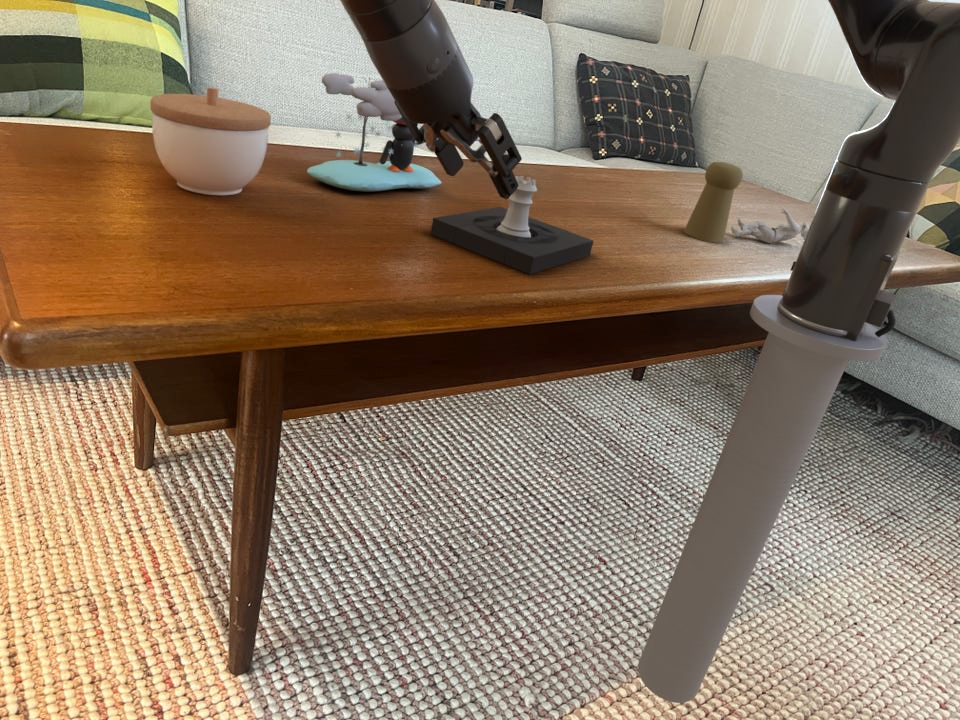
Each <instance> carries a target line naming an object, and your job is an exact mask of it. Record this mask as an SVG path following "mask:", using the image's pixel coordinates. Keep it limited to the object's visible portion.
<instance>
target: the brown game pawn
mask: <svg viewBox="0 0 960 720" xmlns="http://www.w3.org/2000/svg"><path fill="white" fill-rule="evenodd" d="M704 173H705V176H704V179H705V182H706V183H705V185H704V186H703V189H702V192H700V193H701V194H700V196H699V197H698V200H697V201H696V204H695V206H694V209H693V211H692V213H691V215H690V216H689V219H688V221H687V223H686V226H685V228H684V230H683V231H684V234H686V235H687V236H689V237H692V238H694V239H697V240H700V241H703V242H708V243H714V244H722V243H724V242H725V236H726V231H727V227H728V221H729V217H730V213H731V208H732V201H733V197H734V191H735V190H736V189H737V188H738V187H739V186H740V184H741V183H742V180H743V177H744V176H743V174H744V173H743V169H741V168H740V167H739V166H737V165H736V164H733V163H730V162H726V161H713V162H710V164H709V165H708V166H707V167H706V170H705V172H704Z"/></svg>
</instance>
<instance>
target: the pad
mask: <svg viewBox="0 0 960 720" xmlns="http://www.w3.org/2000/svg"><path fill="white" fill-rule="evenodd" d="M507 211H508V208H505V207H502V206H497V207H492V208H485V209H479V210H473V211H467V212H461V213H453V214H448V215H443V216H435V217H433V218H432V224H431V229H430V235H432V236H434V237H436V238H439V239H441V240H443V241H446V242H449V243H451V244H454V245H456V246H459V247H461V248H463V249H466V250H468V251H470V252H472V253H475V254H478V255H479V256H480V255H481V256H483V257H485V258H488V259H490V260H492V261H494V262H497V263H500V264H502V265H505V266H508V267H510V268H513V269H515V270H517V271H519V272H522V273H525V274H527V275H534V274H537V273H540V272H544V271H546V270H549V269H553V268H555V267H558V266H563V265H565V264H569V263H571V262H574V261H575V262H576V261H578V260H582V259H585V258H588V257H590V256H591V253H592V249H593V245H594V240H593V239H591V238H587V237H585V236H583V235H580V234H577V233H574V232H571V231H569V230H566V229H563V228H560V227H558V226H555V225H552V224H549V223H546V222H544V221H541V220H538V219H536V218H533V217H530V216H528V227H529V232H530V233H531V237H519V236H514V235H510V234H506V233H503V232H501V231H498V230H497V227H499V226H500V225H501V222H502V221H503V220H504V218H505V216H506V213H507Z"/></svg>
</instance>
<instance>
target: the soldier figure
mask: <svg viewBox="0 0 960 720" xmlns="http://www.w3.org/2000/svg"><path fill="white" fill-rule="evenodd" d="M780 210H782V211H781V213H782V214H784V215H785V218H786V221H787V224H778V226H774V227H770V226H769V225H767V224H766V222H764V221H763V220H757V221H754V222H750V223H745V222H744V221H743V220H742V218H741V217H738V219H737V225H738V227H739V229H740V230H739V229H737V228H735V226H734V225H731V227H730V230H731V233H732V234H733V237H734V238H739V237H740V236H743V237H745V236H752V237H754V238H756V239H757V240H760V241H762V242H764V243H767V244H772V243H777V242H778V243H779V242H784V241H785V242H786V241H789V240H792V239H794V238H796V236H798V235H799V234H800V235H801V237H802V238H803V241H804V240H805V238H806V235H807V233H808V230H809V228H810V224H809V223H808V222H806V221H803V222H802V224H798V223H796V221H795V220H794V218H793V217H792V216H791V214H790V213H789V211H788V210H787V209H786V208H784V207H780Z"/></svg>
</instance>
